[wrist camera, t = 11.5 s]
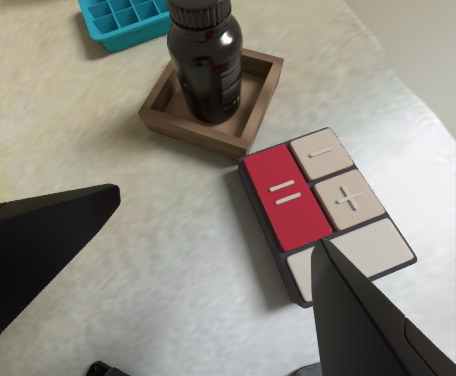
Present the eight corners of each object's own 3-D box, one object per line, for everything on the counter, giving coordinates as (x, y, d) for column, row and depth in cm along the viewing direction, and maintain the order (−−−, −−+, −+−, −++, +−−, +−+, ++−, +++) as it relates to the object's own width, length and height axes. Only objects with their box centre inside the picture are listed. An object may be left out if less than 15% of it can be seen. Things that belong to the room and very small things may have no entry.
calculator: (332, 120, 22) (428, 261, 17) (318, 143, 26) (392, 262, 21) (236, 154, 21) (305, 312, 16) (237, 172, 25) (292, 303, 20)
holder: (244, 162, 25) (246, 149, 22) (149, 129, 27) (137, 112, 24) (278, 80, 28) (284, 58, 25) (192, 56, 30) (187, 33, 27)
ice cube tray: (228, 16, 33) (227, -6, 30) (106, 62, 31) (92, 42, 28) (200, -24, 36) (197, -48, 34) (88, 14, 35) (75, -8, 32)
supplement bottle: (234, 76, 28) (232, -49, 16) (246, 119, 26) (254, 9, 14) (184, 86, 28) (146, -33, 16) (192, 130, 25) (155, 28, 14)
